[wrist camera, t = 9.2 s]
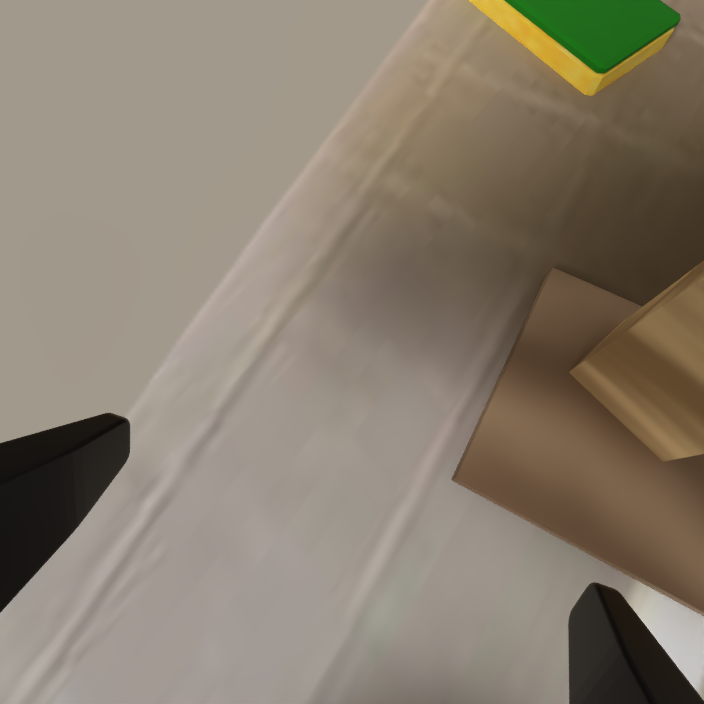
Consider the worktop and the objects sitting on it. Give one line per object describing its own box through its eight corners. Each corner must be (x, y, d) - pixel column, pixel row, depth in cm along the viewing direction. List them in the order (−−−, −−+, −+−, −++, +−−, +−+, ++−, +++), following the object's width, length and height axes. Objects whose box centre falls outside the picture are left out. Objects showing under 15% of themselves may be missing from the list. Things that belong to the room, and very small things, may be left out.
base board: (711, 620, 20) (728, 625, 19) (451, 479, 22) (455, 478, 21) (776, 379, 24) (794, 373, 23) (545, 276, 26) (552, 267, 25)
